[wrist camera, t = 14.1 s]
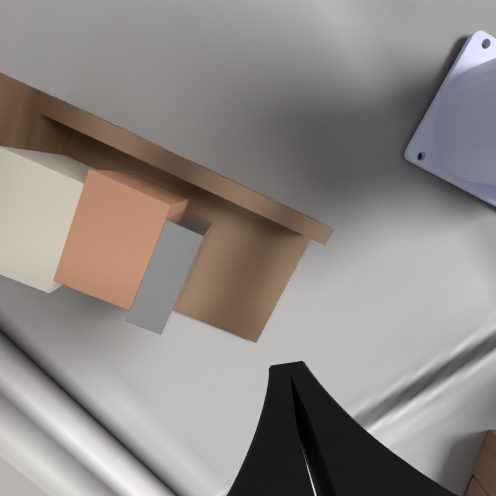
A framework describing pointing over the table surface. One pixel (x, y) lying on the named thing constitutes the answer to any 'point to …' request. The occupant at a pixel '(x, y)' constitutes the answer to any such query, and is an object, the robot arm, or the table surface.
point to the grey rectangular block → (168, 270)
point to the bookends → (485, 469)
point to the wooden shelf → (200, 204)
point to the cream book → (36, 213)
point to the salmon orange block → (115, 234)
